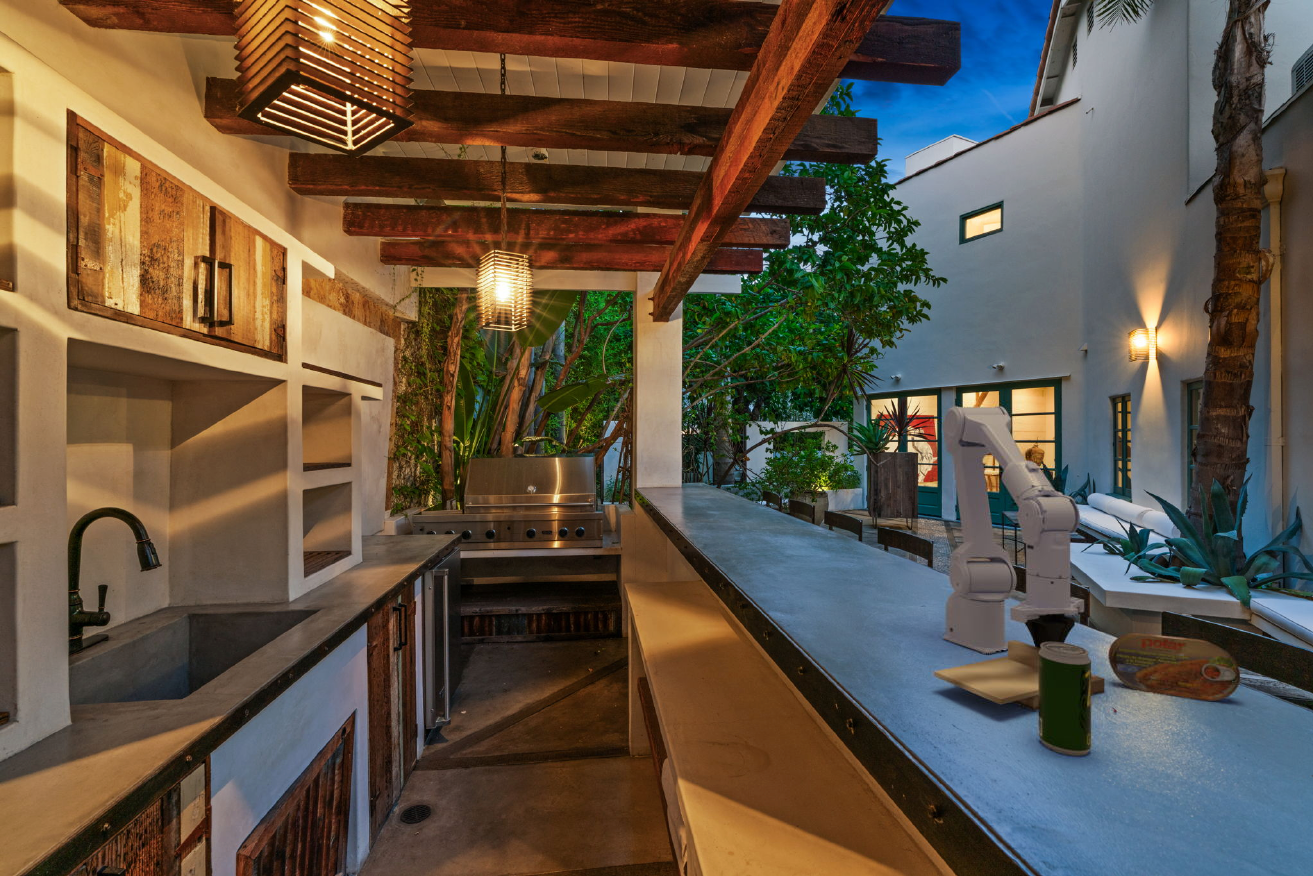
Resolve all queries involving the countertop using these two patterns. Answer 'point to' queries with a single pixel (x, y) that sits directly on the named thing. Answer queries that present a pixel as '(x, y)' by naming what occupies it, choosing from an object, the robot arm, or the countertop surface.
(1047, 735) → the beer can
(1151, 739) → the countertop surface
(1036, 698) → the box
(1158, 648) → the tin
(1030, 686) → the cover plate
